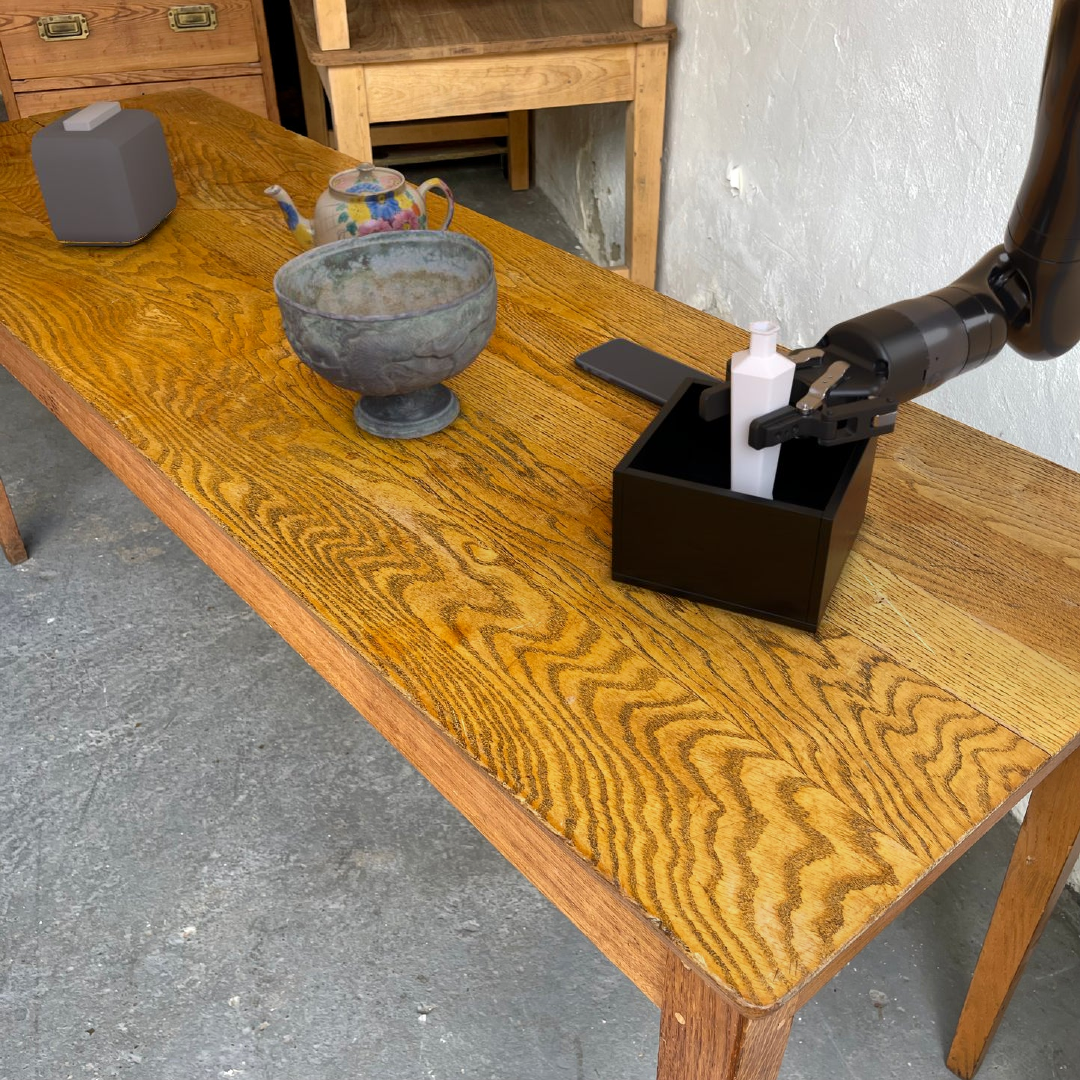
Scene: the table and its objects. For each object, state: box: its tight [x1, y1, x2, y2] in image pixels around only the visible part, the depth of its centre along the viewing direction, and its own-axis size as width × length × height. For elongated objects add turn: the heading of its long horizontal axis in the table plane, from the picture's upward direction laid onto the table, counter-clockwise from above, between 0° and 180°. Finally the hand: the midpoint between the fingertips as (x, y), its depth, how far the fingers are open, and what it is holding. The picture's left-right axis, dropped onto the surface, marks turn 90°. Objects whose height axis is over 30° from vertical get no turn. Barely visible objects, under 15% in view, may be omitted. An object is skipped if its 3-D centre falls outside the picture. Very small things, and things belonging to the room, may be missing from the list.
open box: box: [610, 377, 879, 635], centre depth 83 cm, size 16×16×10 cm
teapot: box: [263, 161, 455, 252], centre depth 131 cm, size 20×14×13 cm
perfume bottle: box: [730, 319, 796, 500], centre depth 80 cm, size 5×4×15 cm
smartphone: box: [573, 337, 725, 407], centre depth 110 cm, size 7×1×15 cm
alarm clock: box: [30, 101, 178, 247], centre depth 145 cm, size 16×11×16 cm
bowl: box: [272, 229, 498, 440], centre depth 101 cm, size 20×19×15 cm
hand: (727, 421), depth 78 cm, fingers closed on perfume bottle, 4 cm apart
